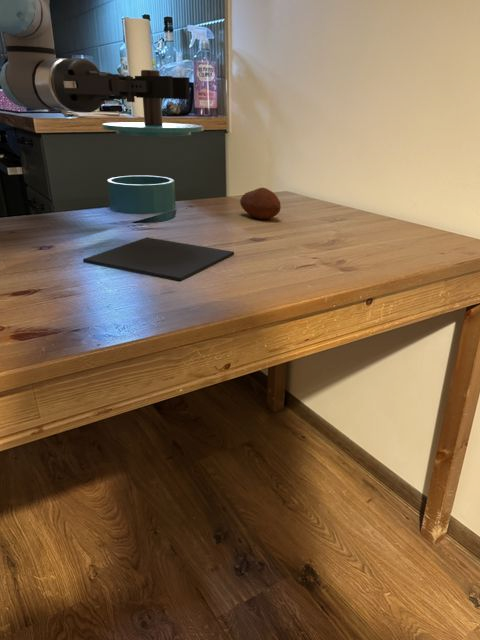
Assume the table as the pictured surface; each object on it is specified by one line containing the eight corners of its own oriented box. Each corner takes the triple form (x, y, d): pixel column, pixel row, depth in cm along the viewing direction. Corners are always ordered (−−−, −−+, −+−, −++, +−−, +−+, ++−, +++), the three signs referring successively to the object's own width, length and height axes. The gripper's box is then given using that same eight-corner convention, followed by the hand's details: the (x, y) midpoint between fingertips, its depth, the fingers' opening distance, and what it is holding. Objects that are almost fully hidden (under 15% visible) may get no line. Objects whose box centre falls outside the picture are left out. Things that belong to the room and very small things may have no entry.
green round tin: (97, 217, 105) (93, 180, 102) (138, 207, 116) (135, 173, 113) (150, 226, 100) (147, 187, 97) (187, 214, 111) (186, 179, 108)
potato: (251, 211, 116) (252, 182, 113) (289, 220, 109) (291, 189, 106) (232, 215, 112) (233, 185, 109) (271, 224, 105) (272, 192, 102)
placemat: (83, 262, 77) (82, 258, 77) (147, 240, 90) (146, 237, 90) (180, 281, 71) (180, 277, 70) (234, 254, 84) (234, 251, 83)
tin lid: (80, 133, 70) (72, 66, 67) (144, 129, 82) (140, 72, 79) (166, 139, 65) (163, 67, 61) (221, 134, 77) (220, 73, 73)
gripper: (113, 111, 87) (216, 117, 76) (31, 111, 76) (138, 118, 64) (108, 62, 84) (215, 60, 72) (22, 54, 72) (133, 50, 61)
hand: (179, 88), depth 68 cm, fingers closed on tin lid, 3 cm apart
